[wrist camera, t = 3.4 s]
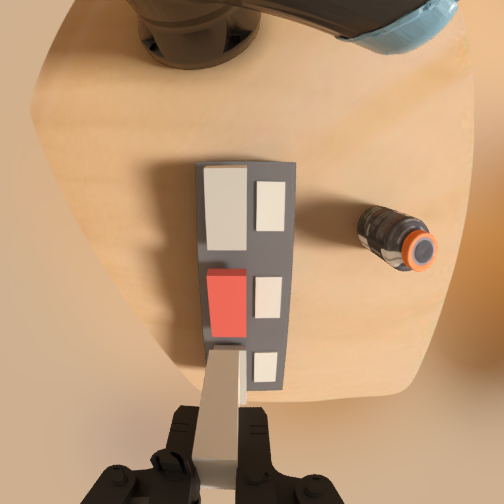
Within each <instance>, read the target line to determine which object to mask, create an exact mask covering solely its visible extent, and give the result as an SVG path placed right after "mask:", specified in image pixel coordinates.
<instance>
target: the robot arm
mask: <svg viewBox="0 0 504 504" xmlns="http://www.w3.org/2000/svg"><path fill="white" fill-rule="evenodd" d="M127 1H128V2H129V3H130V5H131V6H132V7H133V8H134V10H135V11H136V12H137V13H138V32H139V36H140V39H141V42H142V44H143V46H144V47H145V48H146V50H147V51H148V52H149V53H150V54H151V55H152V56H153V57H154V58H155V59H156V60H158V61H159V62H161V63H163V64H165V65H167V66H170V67H173V68H178V69H187V70H194V69H204V68H209V67H213V66H216V65H219V64H222V63H224V62H227V61H229V60H231V59H232V58H234V57H236V56H237V55H239V54H240V53H241V52H243V51H244V50H245V49H246V48H247V47H248V46H249V45H250V44H251V42H252V41H253V40H254V38H255V36H256V34H257V32H258V29H259V25H260V17H261V12H263V13H266V14H270V15H274V16H278V17H281V18H285V19H288V20H291V21H294V22H297V23H300V24H303V25H306V26H309V27H312V28H315V29H318V30H320V31H323V32H326V33H328V34H331V35H333V36H334V37H335V38H336V39H338V40H341V41H344V42H352V43H354V44H357V45H359V46H362V47H364V48H366V49H369V50H371V51H373V52H375V53H378V54H382V55H394V54H404V53H407V52H410V51H412V50H414V49H416V48H418V47H420V46H422V45H423V44H425V43H427V42H428V41H429V40H430V39H432V38H433V37H434V36H435V35H437V34H438V33H439V32H440V31H441V30H442V29H443V28H444V27H445V26H446V25H447V24H448V22H449V21H450V20H451V19H452V17H453V16H454V14H455V12H456V10H457V8H458V6H457V4H456V2H457V1H459V0H127ZM150 461H151V463H152V465H153V468H151V469H146V470H133V471H132V470H131V469H129V468H127V467H126V466H123V465H112V466H110V467H108V468H107V469H105V470H104V471H103V473H102V474H101V476H100V477H99V479H98V480H97V481H96V483H95V484H94V485H93V487H92V488H91V490H90V491H89V493H88V494H87V495H86V496H85V498H84V499H83V501H82V502H81V503H80V504H201V497H200V485H201V487H202V488H211V489H234V490H236V492H235V504H344V502H343V500H342V499H341V497H340V495H339V494H338V492H337V490H336V489H335V487H334V485H333V484H332V482H331V481H330V480H329V479H328V478H326V477H324V476H322V475H316V474H313V475H307V476H305V477H303V478H296V477H290V476H286V475H283V474H281V473H279V472H278V471H277V470H275V468H274V467H273V465H272V462H271V453H270V442H269V431H268V420H267V415H266V413H265V412H264V410H263V409H262V408H261V407H240V370H239V350H209V354H208V360H207V366H206V372H205V377H204V383H203V389H202V395H201V401H200V407H196V406H183V405H181V406H180V407H179V408H178V409H177V410H176V411H175V413H174V415H173V420H172V424H171V428H170V432H169V436H168V440H167V444H166V449H162V450H159V451H157V452H156V453H154V454H153V455H152V457H151V459H150Z"/></svg>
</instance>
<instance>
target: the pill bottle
mask: <svg viewBox="0 0 504 504" xmlns="http://www.w3.org/2000/svg"><path fill="white" fill-rule="evenodd" d="M357 233H358V237H359V240H360V242H361V243H362V245H363V246H365V247H366V248H367V249H368V250H370V251H371V252H373V253H374V254H376V255H377V256H378V257H380V258H381V259H383V260H384V261H385V262H387V263H388V264H389V265H391V266H392V267H393V268H395V269H397V270H399V271H410V270H414V271H417V272H421V271H425V270H426V269H428V268H429V267H430V266H431V265H432V264H433V262H434V261H435V259H436V256H437V250H438V246H437V242H436V239H435V238H434V236H433V235H431V234H430V233H429V230H428V228H427V226H426V225H425V224H424V223H423V222H422V221H421V220H419V219H417V218H415V217H412V216H410V215H407V214H405V213H401V212H398V211H395V210H392V209H389V208H386V207H382V206H375V207H372V208H369V209H368V210H367V211H365V212H364V213H363V215H362V216H361V218H360V220H359V223H358V228H357Z"/></svg>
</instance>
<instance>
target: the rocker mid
mask: <svg viewBox="0 0 504 504" xmlns="http://www.w3.org/2000/svg"><path fill="white" fill-rule="evenodd" d="M207 288H208V300H209V311H210V321H211V331H212V337H246V269H210V268H208V271H207Z"/></svg>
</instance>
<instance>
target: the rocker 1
mask: <svg viewBox="0 0 504 504" xmlns="http://www.w3.org/2000/svg"><path fill="white" fill-rule="evenodd" d="M204 193H205V216H206V235H207V250H246V242H247V165H223V166H205V167H204Z"/></svg>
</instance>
